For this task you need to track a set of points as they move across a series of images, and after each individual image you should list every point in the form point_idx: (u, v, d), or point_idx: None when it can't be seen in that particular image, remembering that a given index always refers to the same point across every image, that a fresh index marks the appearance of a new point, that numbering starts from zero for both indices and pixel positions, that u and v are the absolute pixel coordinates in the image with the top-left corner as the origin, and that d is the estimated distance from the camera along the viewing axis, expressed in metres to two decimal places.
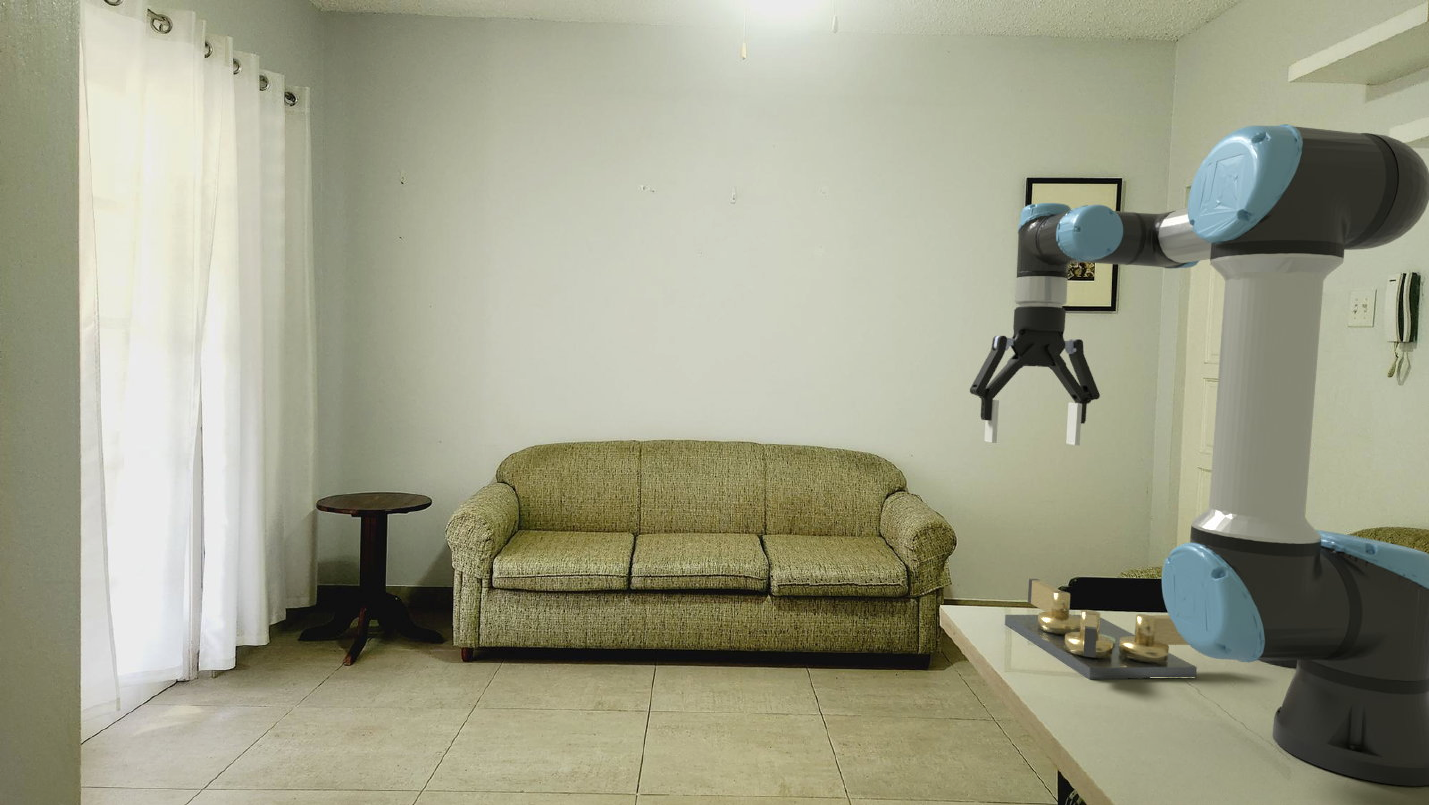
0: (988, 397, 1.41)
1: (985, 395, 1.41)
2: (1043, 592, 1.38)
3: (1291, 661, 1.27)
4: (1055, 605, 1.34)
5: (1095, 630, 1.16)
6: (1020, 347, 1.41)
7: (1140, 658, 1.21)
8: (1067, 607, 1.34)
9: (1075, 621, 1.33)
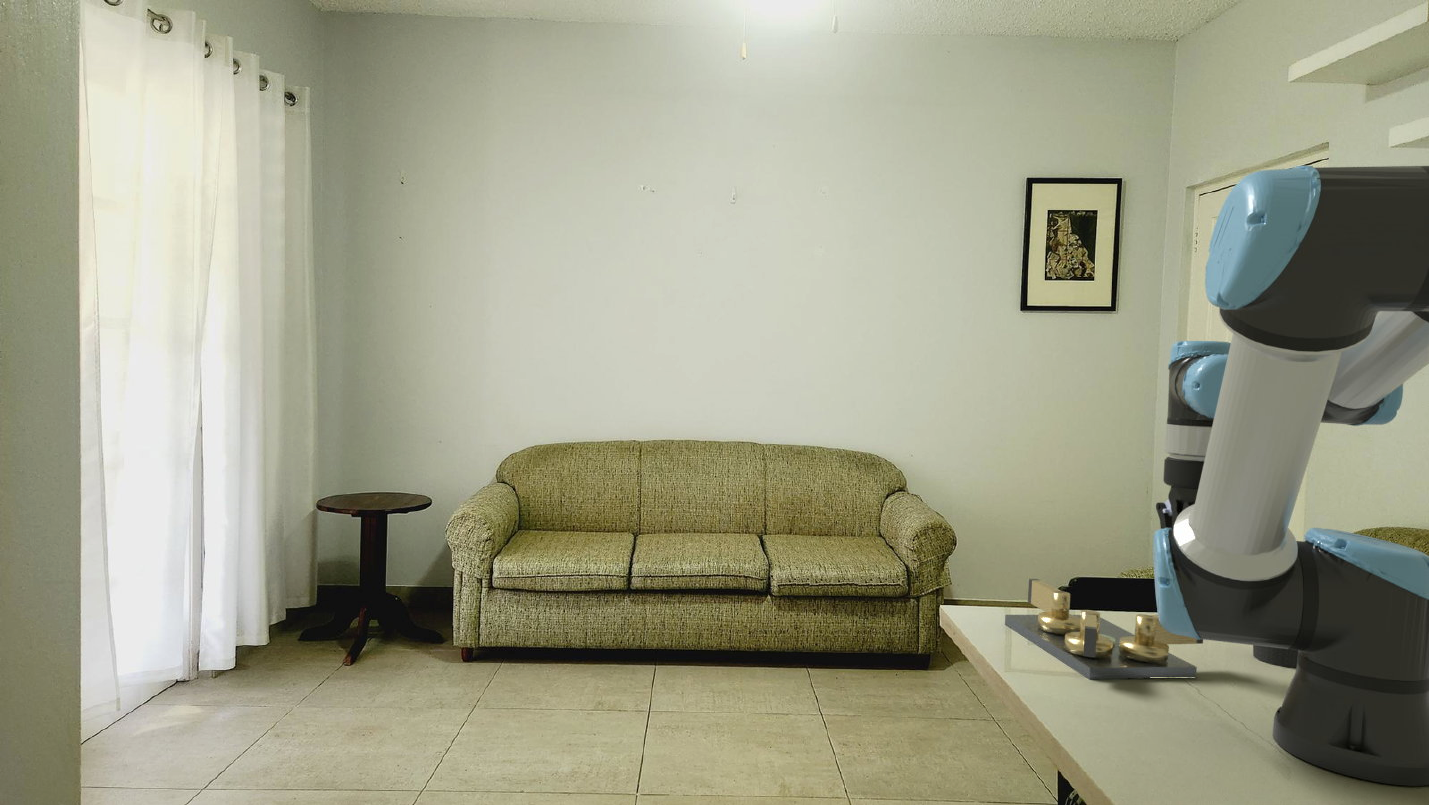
0: None
1: None
2: (1043, 592, 1.38)
3: (1291, 661, 1.27)
4: (1055, 605, 1.34)
5: (1095, 630, 1.16)
6: None
7: (1142, 658, 1.21)
8: (1067, 607, 1.34)
9: (1075, 621, 1.33)
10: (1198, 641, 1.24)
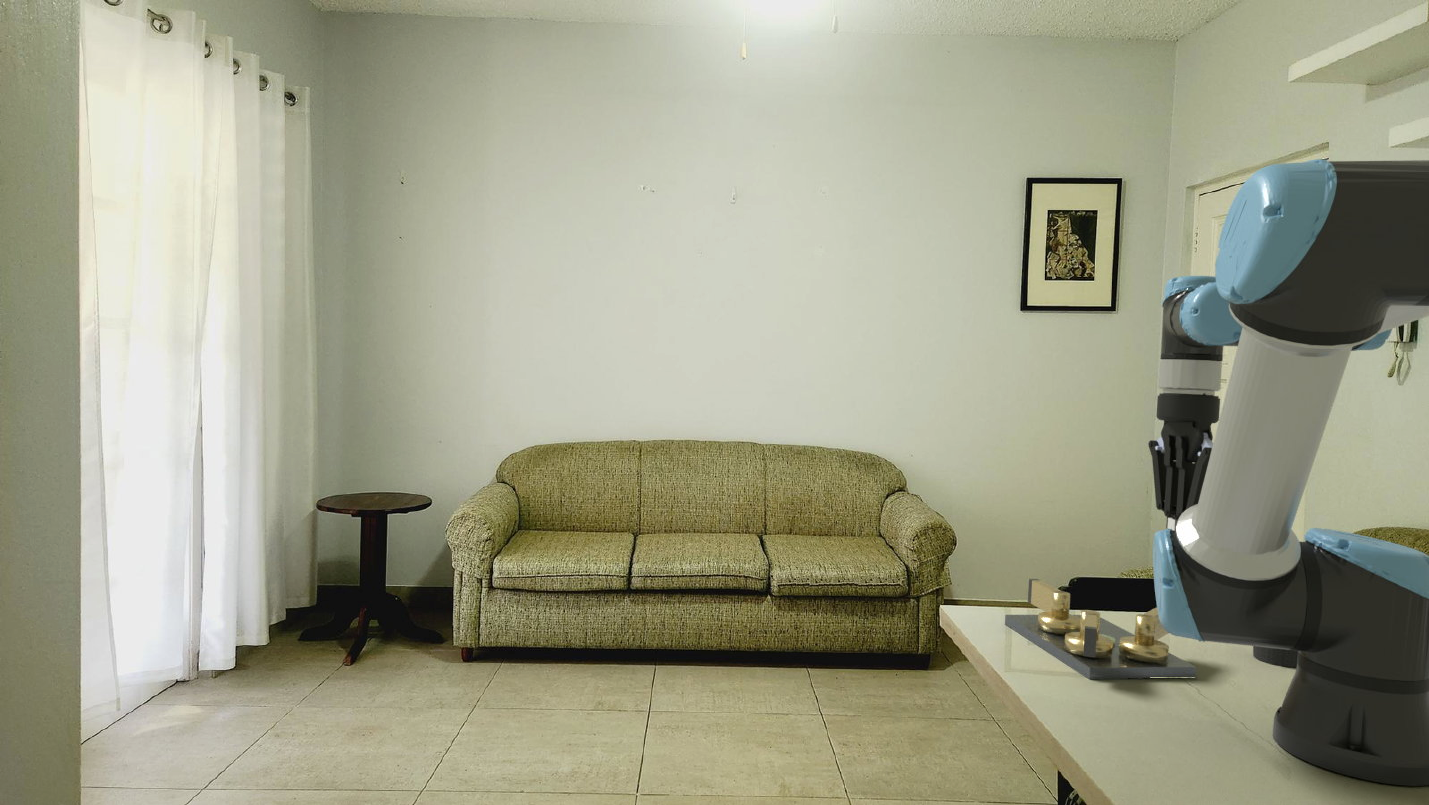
0: (1166, 515, 1.26)
1: None
2: (1043, 592, 1.38)
3: (1291, 661, 1.27)
4: (1055, 605, 1.34)
5: (1095, 630, 1.16)
6: None
7: (1156, 660, 1.21)
8: (1067, 607, 1.34)
9: (1075, 621, 1.33)
10: None
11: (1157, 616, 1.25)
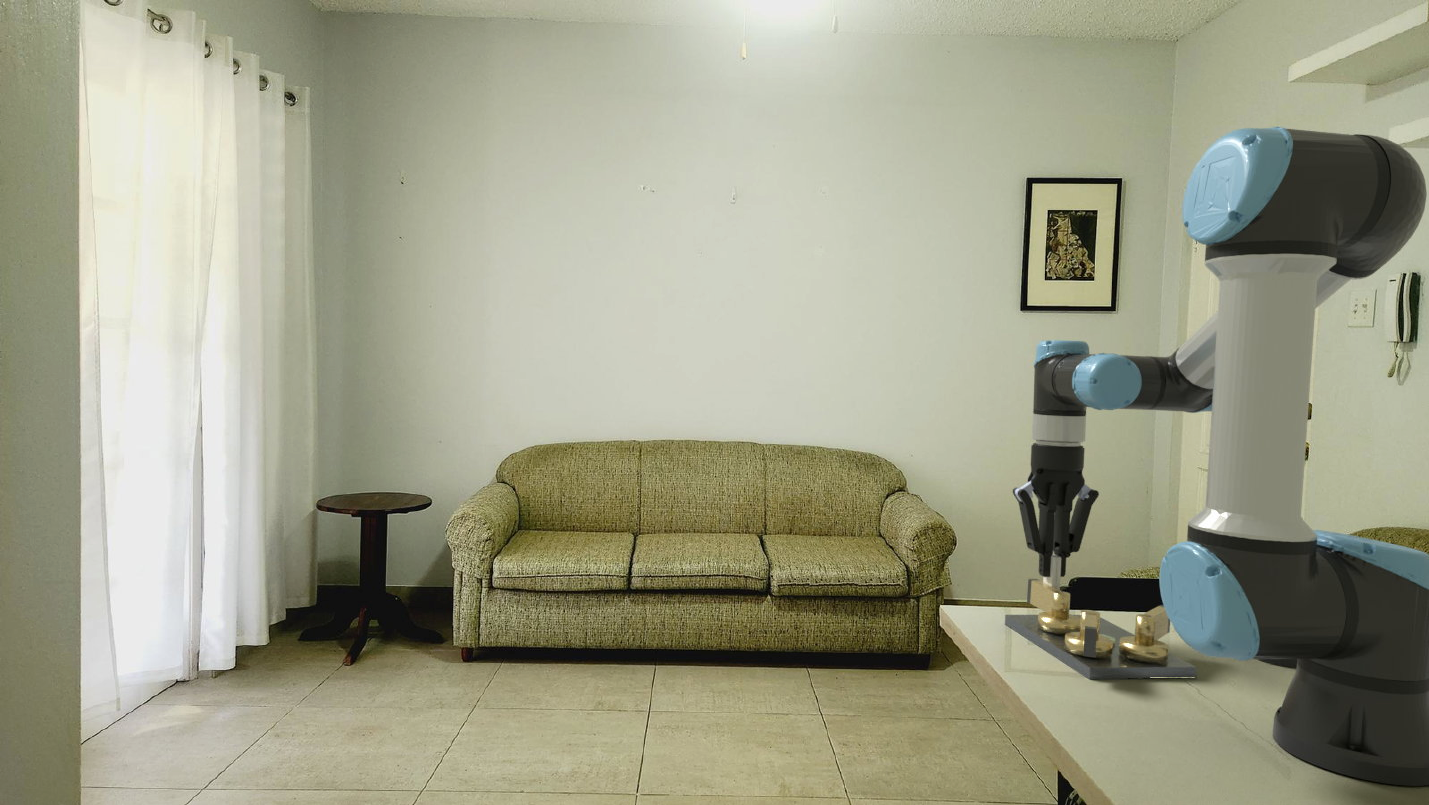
0: (1048, 555, 1.38)
1: (1043, 552, 1.38)
2: (1043, 592, 1.38)
3: (1291, 661, 1.27)
4: (1055, 605, 1.34)
5: (1095, 630, 1.16)
6: (1041, 486, 1.37)
7: (1156, 660, 1.21)
8: (1067, 607, 1.34)
9: (1075, 621, 1.33)
10: (1168, 631, 1.29)
11: (1157, 616, 1.25)
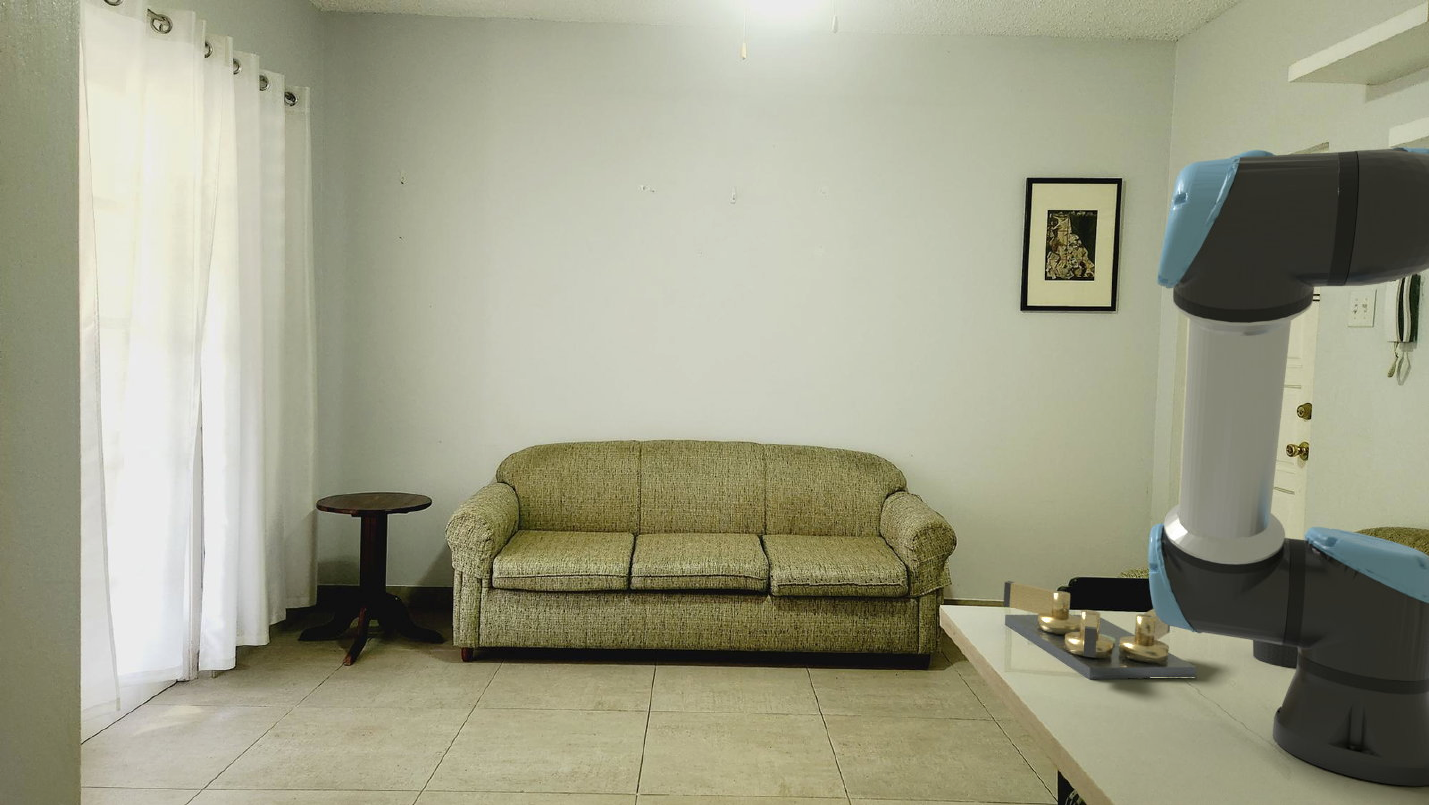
0: None
1: None
2: (1033, 594, 1.37)
3: (1291, 661, 1.27)
4: (1060, 606, 1.33)
5: (1095, 630, 1.16)
6: None
7: (1156, 660, 1.21)
8: (1069, 606, 1.34)
9: (1076, 619, 1.34)
10: (1168, 631, 1.29)
11: None
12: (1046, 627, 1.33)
